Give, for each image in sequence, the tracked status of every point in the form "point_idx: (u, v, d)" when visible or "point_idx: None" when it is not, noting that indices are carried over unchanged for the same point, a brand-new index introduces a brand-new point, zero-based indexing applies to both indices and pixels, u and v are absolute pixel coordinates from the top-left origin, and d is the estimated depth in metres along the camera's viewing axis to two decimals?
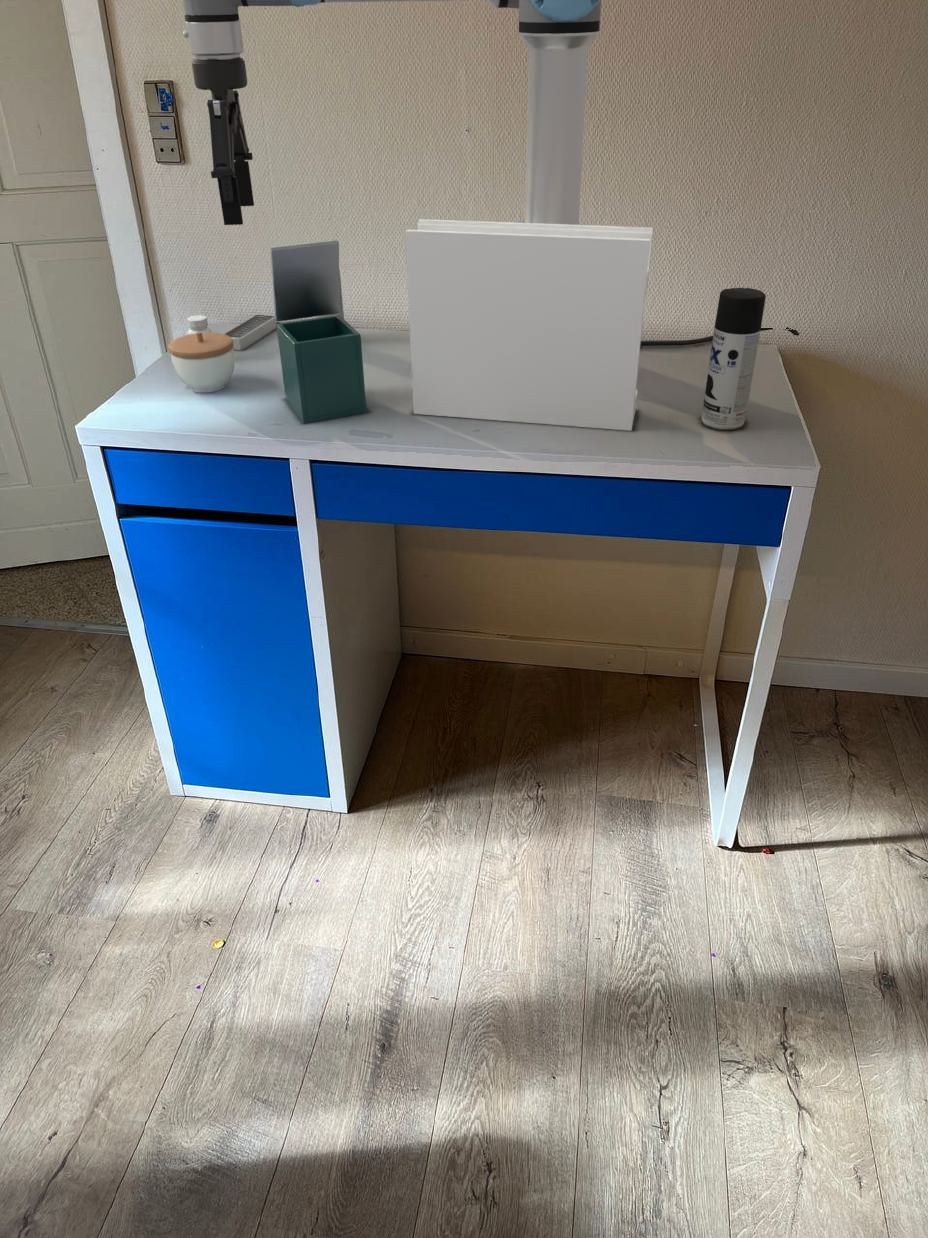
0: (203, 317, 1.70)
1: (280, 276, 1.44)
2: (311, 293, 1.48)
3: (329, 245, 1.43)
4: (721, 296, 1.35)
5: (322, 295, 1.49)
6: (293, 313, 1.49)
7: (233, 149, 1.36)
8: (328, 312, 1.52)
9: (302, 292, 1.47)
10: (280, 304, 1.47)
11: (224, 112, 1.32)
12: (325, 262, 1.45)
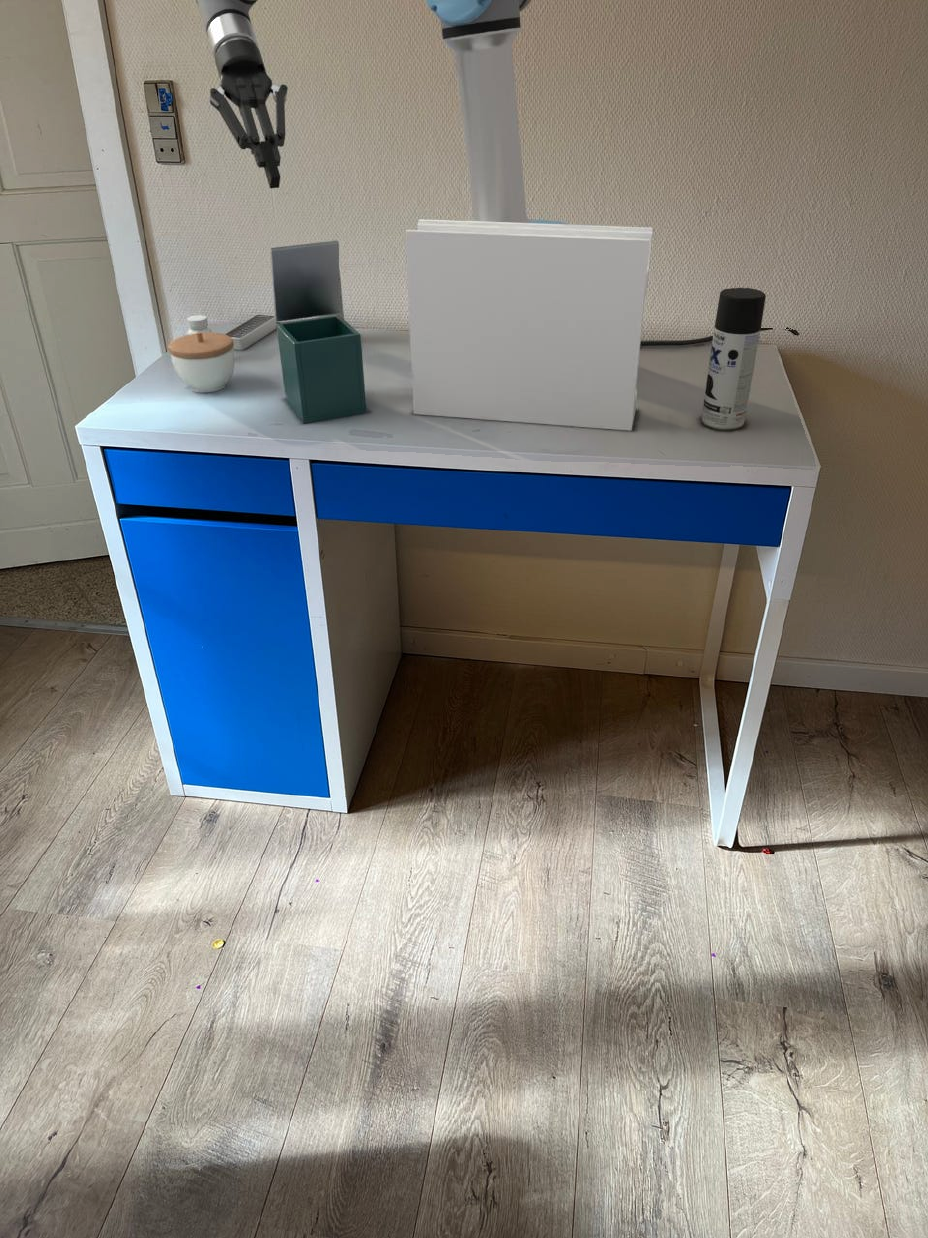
0: (203, 317, 1.70)
1: (280, 276, 1.44)
2: (311, 293, 1.48)
3: (329, 245, 1.43)
4: (721, 296, 1.35)
5: (322, 295, 1.49)
6: (293, 313, 1.49)
7: (252, 116, 1.50)
8: (328, 312, 1.52)
9: (302, 292, 1.47)
10: (280, 304, 1.47)
11: (216, 98, 1.49)
12: (325, 262, 1.45)
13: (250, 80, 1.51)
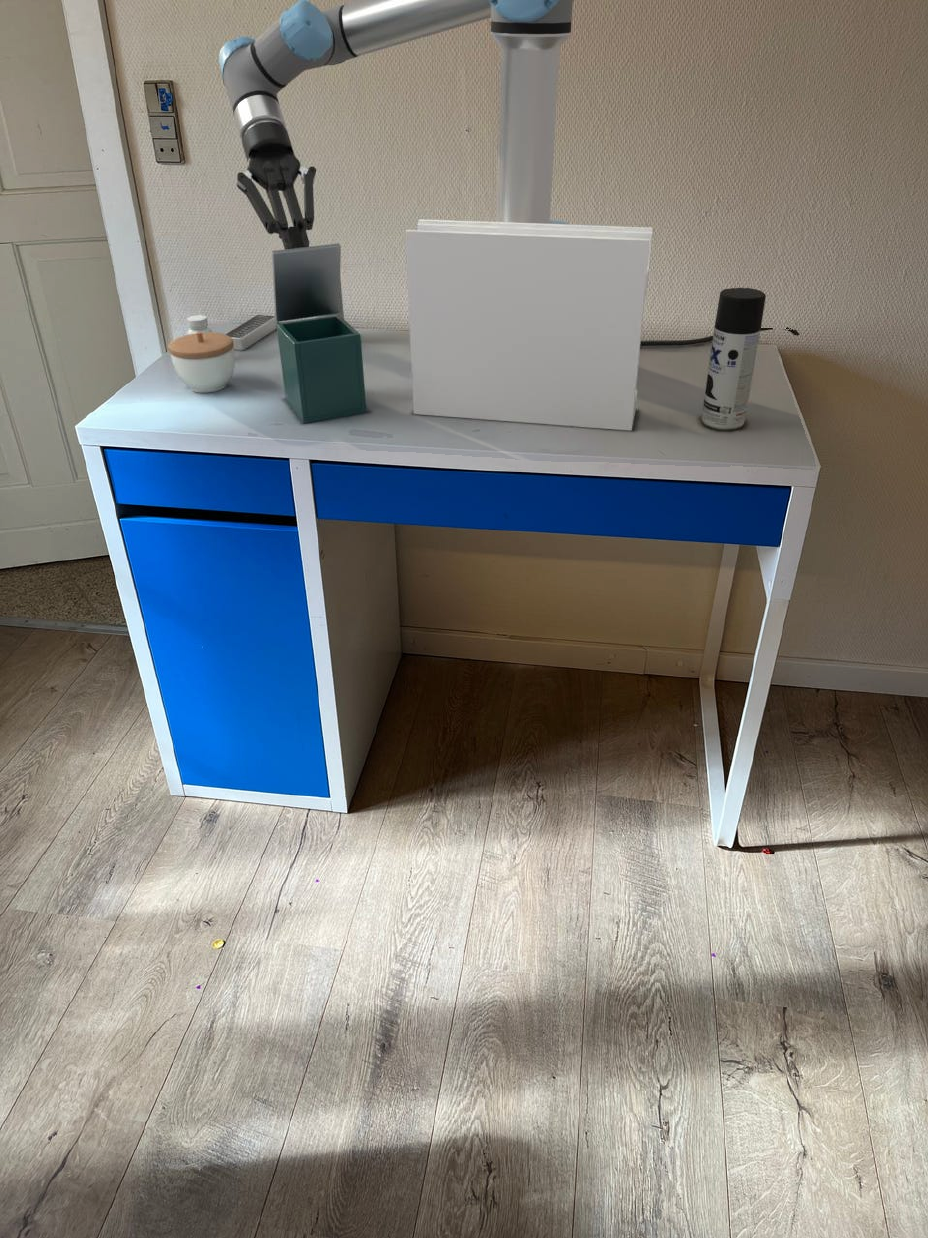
0: (203, 317, 1.70)
1: (281, 278, 1.44)
2: (311, 294, 1.48)
3: (331, 248, 1.43)
4: (721, 296, 1.35)
5: (323, 296, 1.49)
6: (293, 313, 1.49)
7: (280, 201, 1.46)
8: (328, 312, 1.52)
9: (303, 293, 1.47)
10: (280, 305, 1.47)
11: (243, 183, 1.45)
12: (326, 265, 1.45)
13: (278, 163, 1.47)
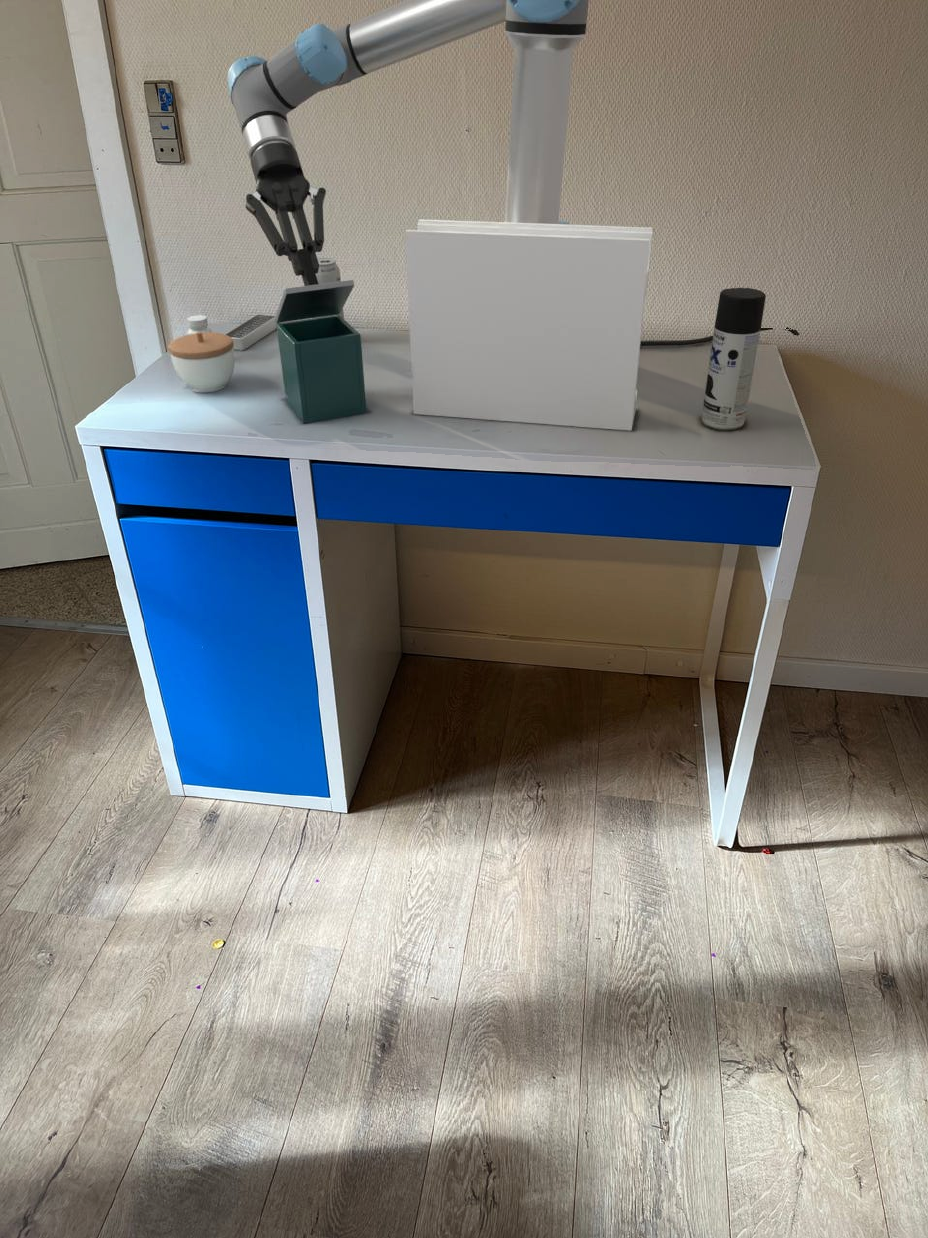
0: (203, 317, 1.70)
1: (289, 304, 1.43)
2: (315, 308, 1.47)
3: (344, 286, 1.41)
4: (721, 296, 1.35)
5: (326, 308, 1.49)
6: (294, 318, 1.49)
7: (289, 223, 1.44)
8: (328, 315, 1.52)
9: (307, 308, 1.47)
10: (283, 315, 1.47)
11: (252, 205, 1.43)
12: (336, 294, 1.44)
13: (287, 184, 1.45)
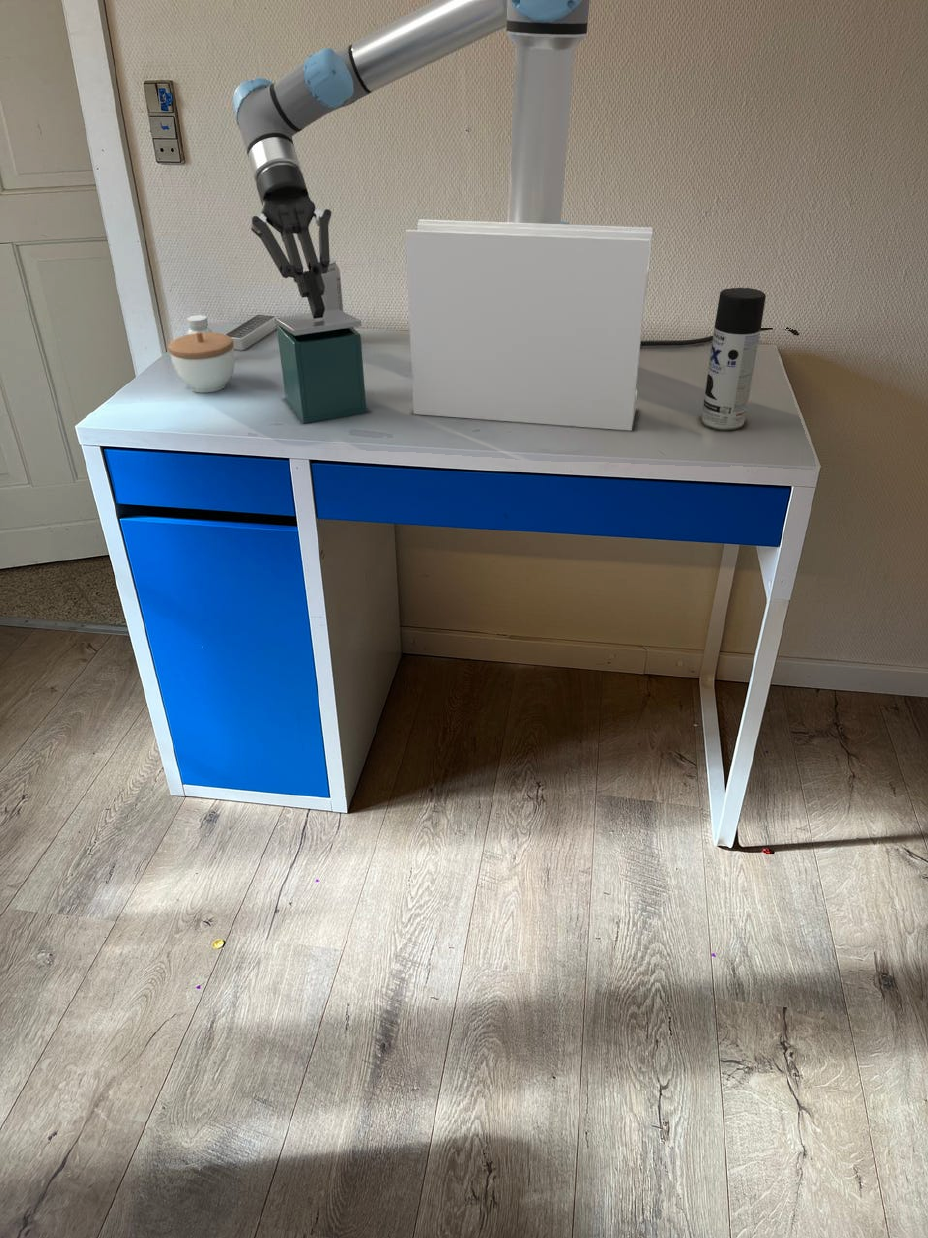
0: (203, 317, 1.70)
1: None
2: None
3: (351, 326, 1.43)
4: (721, 296, 1.35)
5: None
6: None
7: (295, 245, 1.44)
8: None
9: None
10: None
11: (258, 227, 1.43)
12: None
13: (293, 206, 1.45)
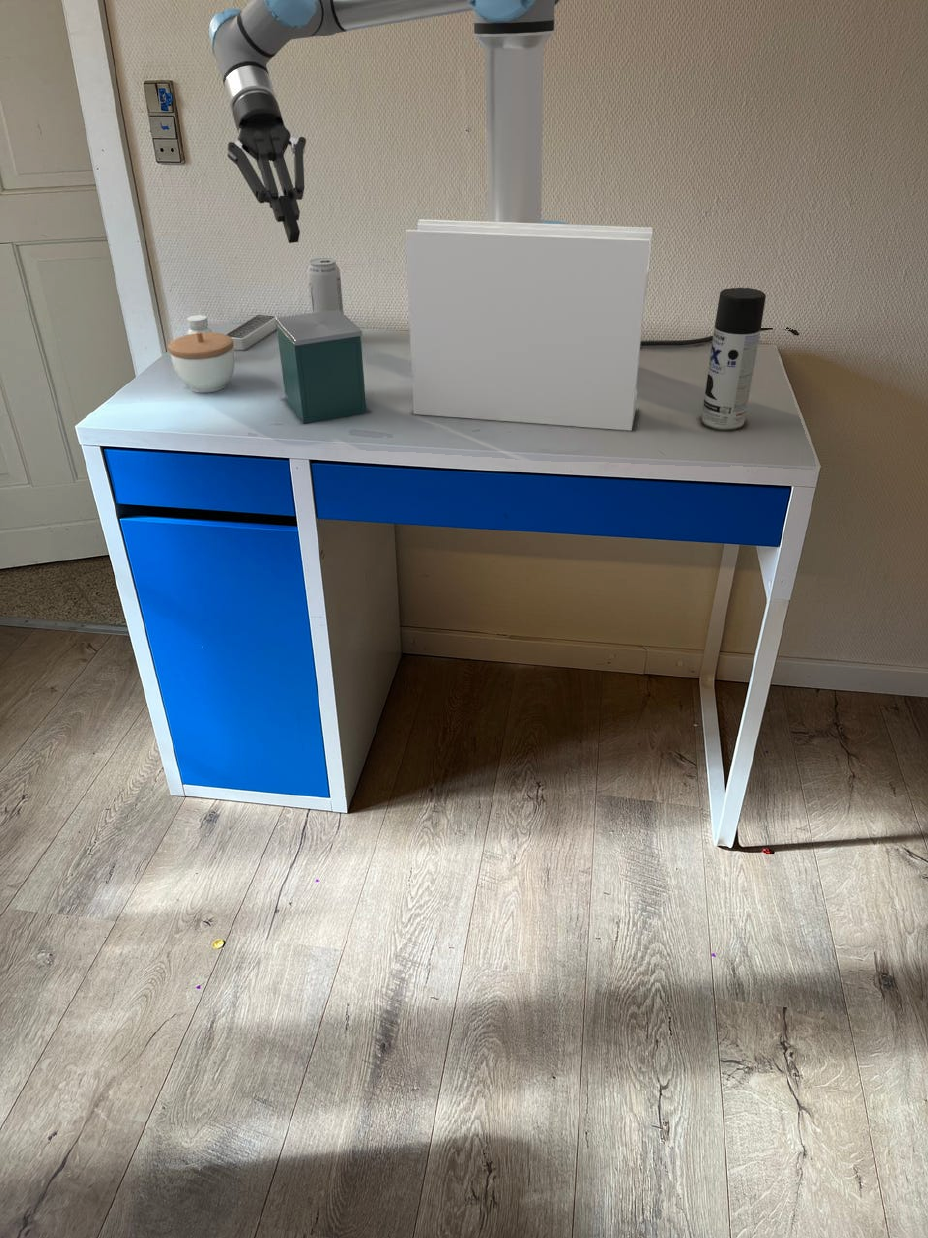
0: (203, 317, 1.70)
1: None
2: None
3: (352, 336, 1.44)
4: (721, 296, 1.35)
5: None
6: None
7: (270, 170, 1.47)
8: None
9: None
10: None
11: (234, 153, 1.47)
12: None
13: (268, 133, 1.49)
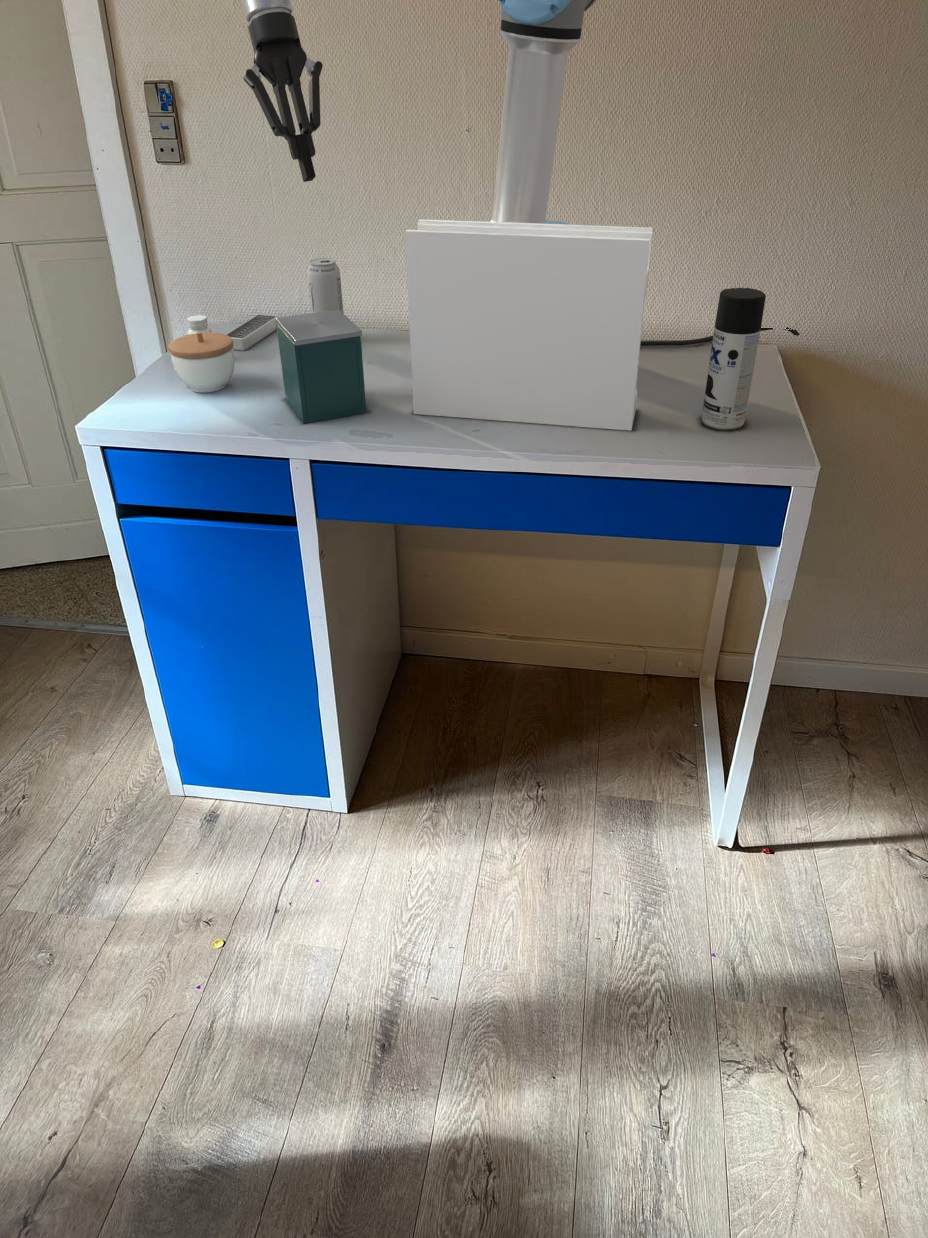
0: (203, 317, 1.70)
1: None
2: None
3: (352, 336, 1.44)
4: (721, 296, 1.35)
5: None
6: None
7: (288, 104, 1.49)
8: None
9: None
10: None
11: (252, 81, 1.46)
12: None
13: (285, 57, 1.47)
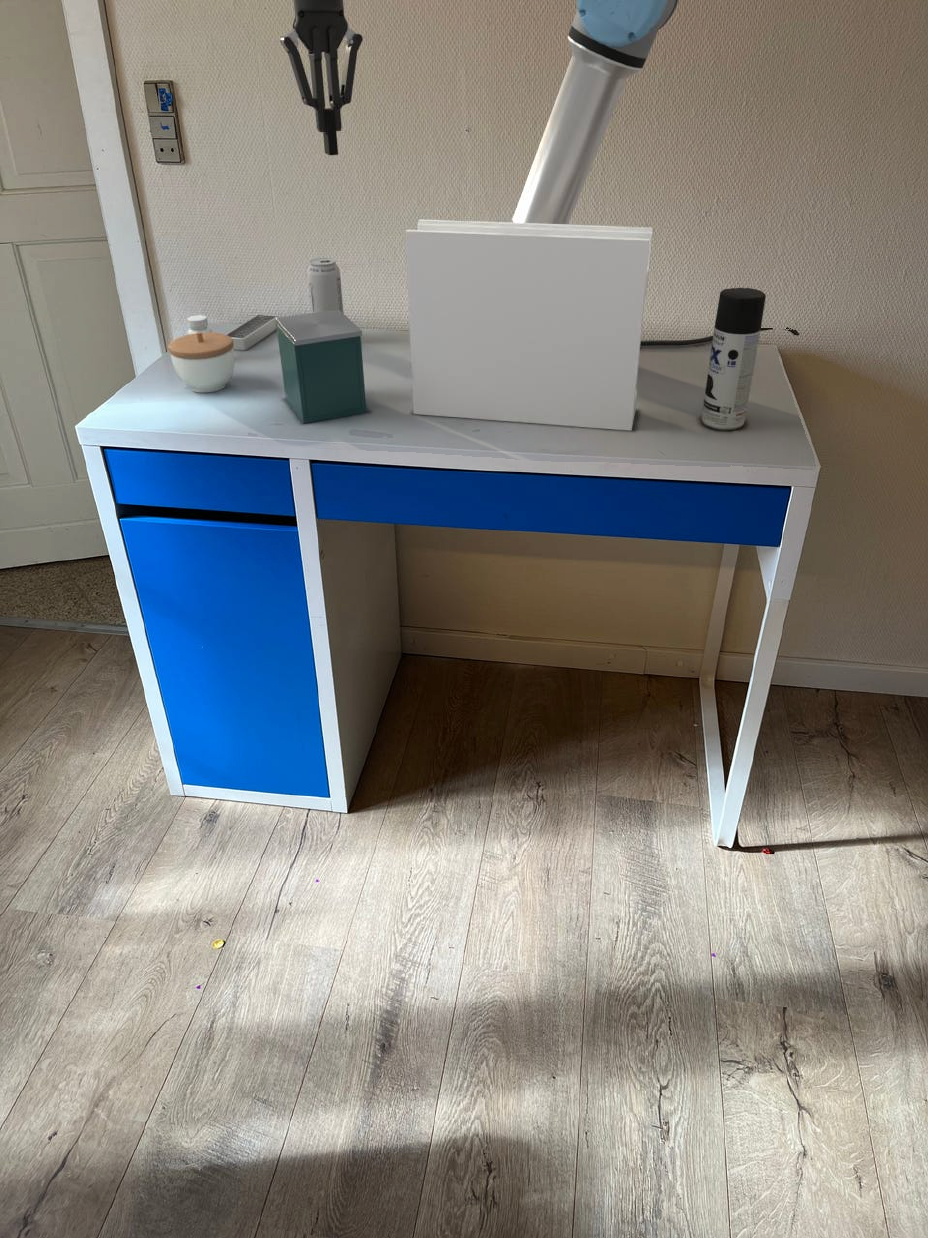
0: (203, 317, 1.70)
1: None
2: None
3: (352, 336, 1.44)
4: (721, 296, 1.35)
5: None
6: None
7: (321, 77, 1.46)
8: None
9: None
10: None
11: (288, 50, 1.43)
12: None
13: (326, 26, 1.43)
